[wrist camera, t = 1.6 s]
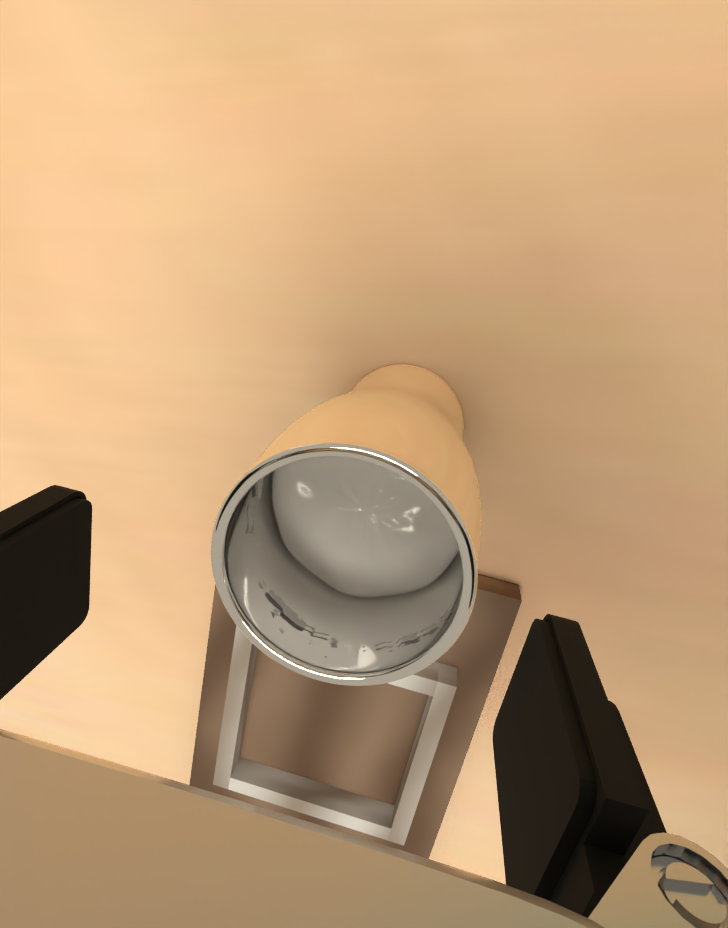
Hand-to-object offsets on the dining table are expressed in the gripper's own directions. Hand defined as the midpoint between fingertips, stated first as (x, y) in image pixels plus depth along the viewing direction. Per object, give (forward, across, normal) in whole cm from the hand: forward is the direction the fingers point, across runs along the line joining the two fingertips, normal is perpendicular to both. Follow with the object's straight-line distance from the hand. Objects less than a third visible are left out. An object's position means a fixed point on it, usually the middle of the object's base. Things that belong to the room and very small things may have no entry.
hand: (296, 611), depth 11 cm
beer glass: (+17, -1, 0) cm, 17 cm away
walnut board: (+17, -1, +18) cm, 25 cm away
